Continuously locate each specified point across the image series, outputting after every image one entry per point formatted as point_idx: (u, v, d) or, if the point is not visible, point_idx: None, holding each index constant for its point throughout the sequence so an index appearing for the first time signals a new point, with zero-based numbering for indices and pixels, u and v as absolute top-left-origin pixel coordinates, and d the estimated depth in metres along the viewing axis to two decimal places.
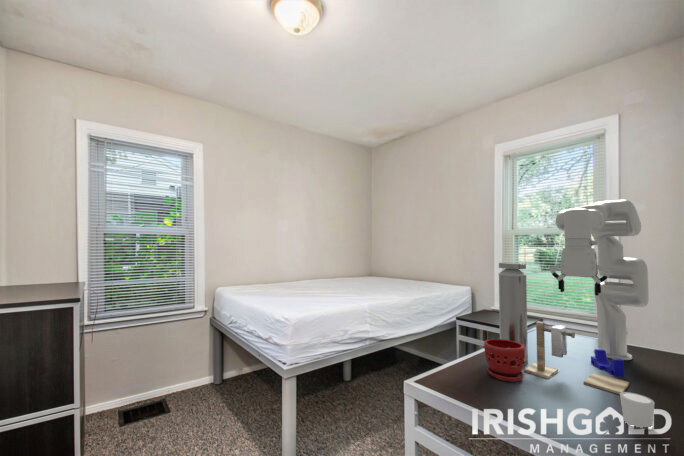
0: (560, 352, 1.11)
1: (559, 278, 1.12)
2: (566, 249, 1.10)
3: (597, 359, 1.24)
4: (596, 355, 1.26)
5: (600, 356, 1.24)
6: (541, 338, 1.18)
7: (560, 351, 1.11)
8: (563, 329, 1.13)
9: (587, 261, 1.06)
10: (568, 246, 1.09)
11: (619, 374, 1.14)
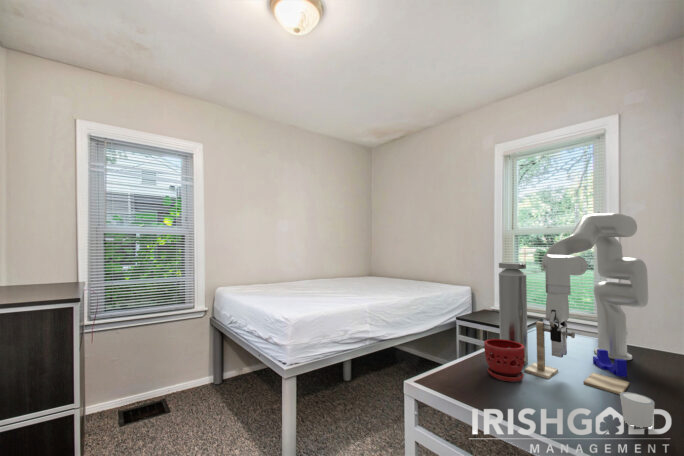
0: (560, 352, 1.11)
1: (559, 328, 1.11)
2: (562, 297, 1.11)
3: (599, 359, 1.24)
4: (598, 355, 1.26)
5: (602, 356, 1.24)
6: (541, 338, 1.18)
7: (560, 351, 1.11)
8: (563, 329, 1.13)
9: (568, 305, 1.15)
10: (565, 293, 1.11)
11: (622, 374, 1.14)
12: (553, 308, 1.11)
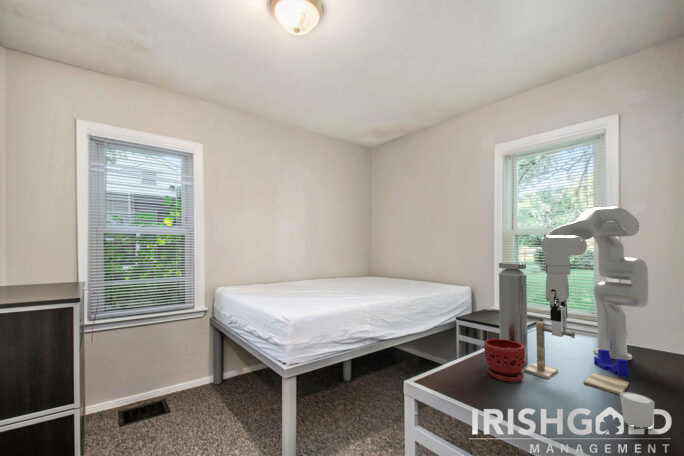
0: (560, 331, 1.12)
1: (559, 308, 1.11)
2: (562, 276, 1.12)
3: (600, 359, 1.24)
4: (599, 355, 1.26)
5: (603, 356, 1.24)
6: (541, 338, 1.18)
7: (560, 330, 1.12)
8: (563, 309, 1.13)
9: (567, 285, 1.15)
10: (564, 273, 1.11)
11: (623, 374, 1.14)
12: (553, 288, 1.12)
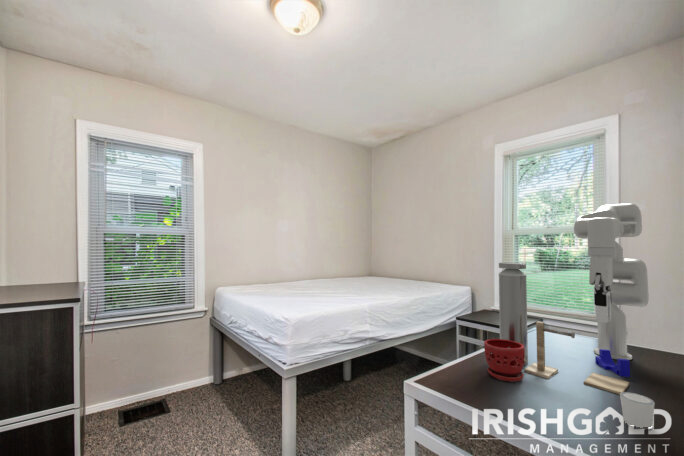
0: (605, 317, 1.06)
1: (604, 292, 1.06)
2: (607, 259, 1.06)
3: (602, 359, 1.24)
4: (601, 355, 1.26)
5: (605, 356, 1.24)
6: (541, 338, 1.18)
7: (605, 316, 1.06)
8: (608, 293, 1.08)
9: (612, 269, 1.10)
10: (610, 255, 1.06)
11: (625, 374, 1.14)
12: (598, 271, 1.07)
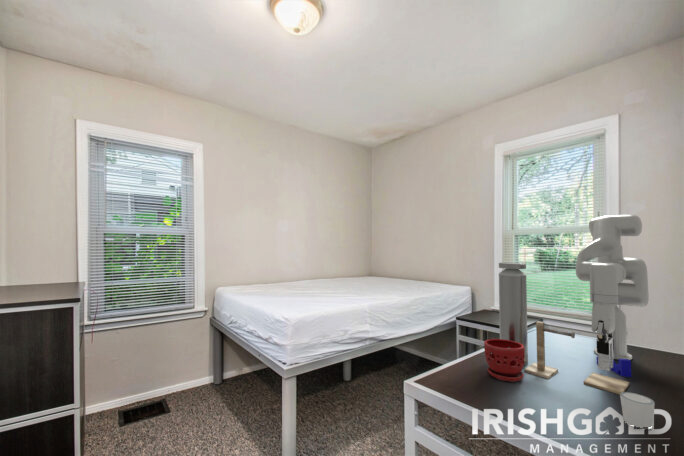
0: (608, 365, 1.05)
1: (607, 340, 1.05)
2: (610, 307, 1.06)
3: None
4: None
5: None
6: (541, 338, 1.18)
7: (608, 364, 1.05)
8: (610, 341, 1.07)
9: (614, 316, 1.09)
10: (613, 303, 1.06)
11: (626, 374, 1.14)
12: (600, 319, 1.06)
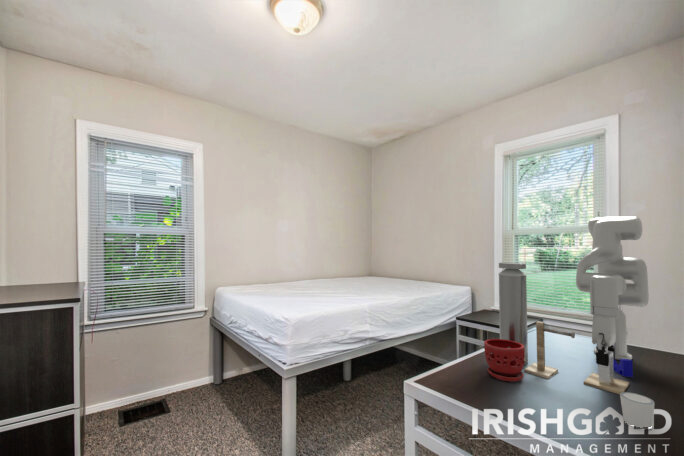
0: (608, 380, 1.05)
1: (606, 351, 1.04)
2: (610, 319, 1.05)
3: None
4: None
5: None
6: (541, 338, 1.18)
7: (608, 379, 1.05)
8: (611, 355, 1.07)
9: (615, 328, 1.09)
10: (613, 316, 1.05)
11: (628, 374, 1.14)
12: (601, 331, 1.06)
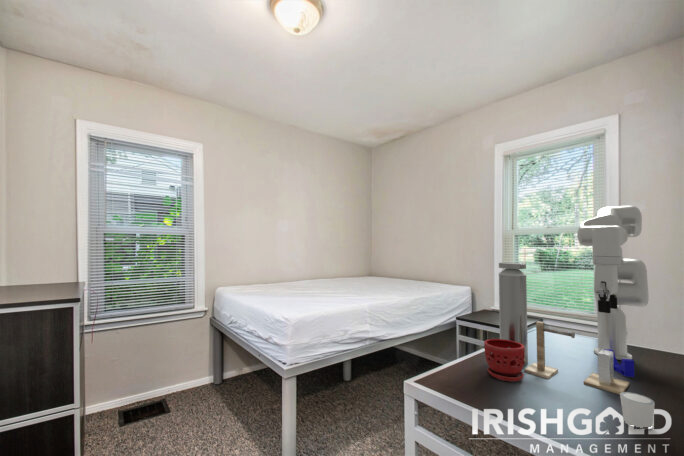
0: (608, 380, 1.05)
1: (608, 299, 1.05)
2: (612, 268, 1.06)
3: None
4: None
5: None
6: (541, 338, 1.18)
7: (608, 379, 1.05)
8: (611, 355, 1.07)
9: (617, 277, 1.10)
10: (615, 264, 1.06)
11: (629, 374, 1.14)
12: (603, 280, 1.07)
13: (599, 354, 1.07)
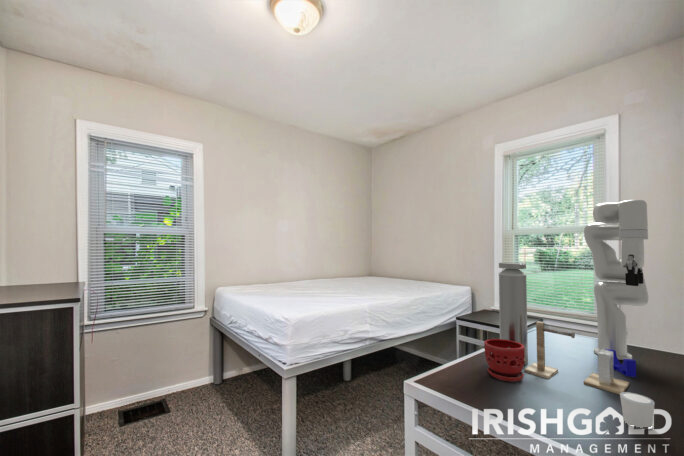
0: (608, 380, 1.05)
1: (636, 271, 1.05)
2: (640, 241, 1.06)
3: None
4: None
5: None
6: (541, 338, 1.18)
7: (608, 379, 1.05)
8: (611, 355, 1.07)
9: None
10: (643, 237, 1.06)
11: (631, 374, 1.14)
12: (630, 253, 1.06)
13: (599, 354, 1.07)
